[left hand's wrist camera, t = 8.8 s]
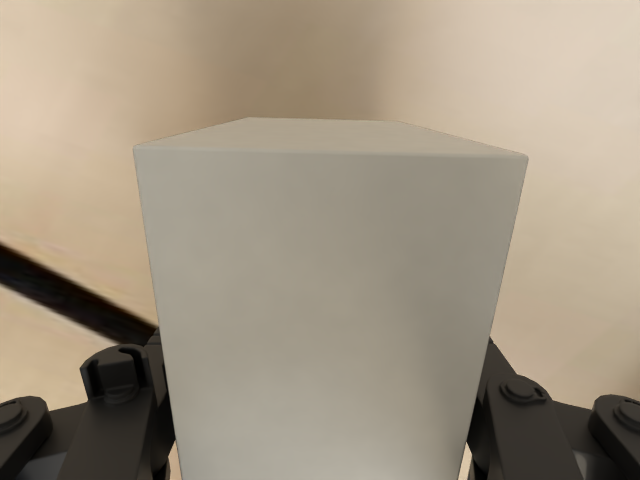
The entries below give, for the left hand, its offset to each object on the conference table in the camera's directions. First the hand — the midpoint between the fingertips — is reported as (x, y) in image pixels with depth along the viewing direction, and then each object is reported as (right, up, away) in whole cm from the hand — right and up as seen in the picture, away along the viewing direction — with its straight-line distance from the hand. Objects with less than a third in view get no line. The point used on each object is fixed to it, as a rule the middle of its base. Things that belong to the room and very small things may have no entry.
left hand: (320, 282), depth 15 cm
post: (-1, -22, +9) cm, 23 cm away
